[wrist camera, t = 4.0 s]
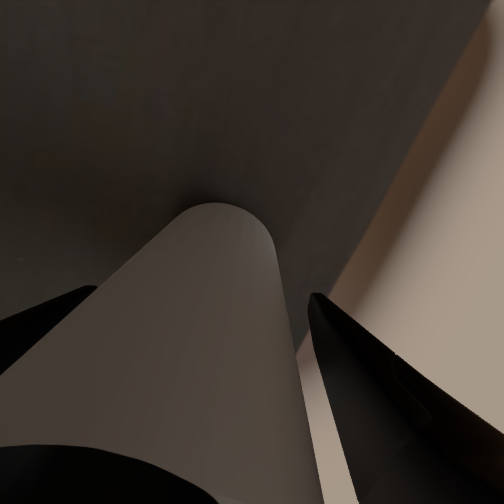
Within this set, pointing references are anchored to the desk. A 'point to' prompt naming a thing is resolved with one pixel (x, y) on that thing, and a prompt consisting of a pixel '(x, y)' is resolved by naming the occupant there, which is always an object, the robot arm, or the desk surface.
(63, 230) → the desk surface
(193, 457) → the beverage can
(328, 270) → the desk surface
